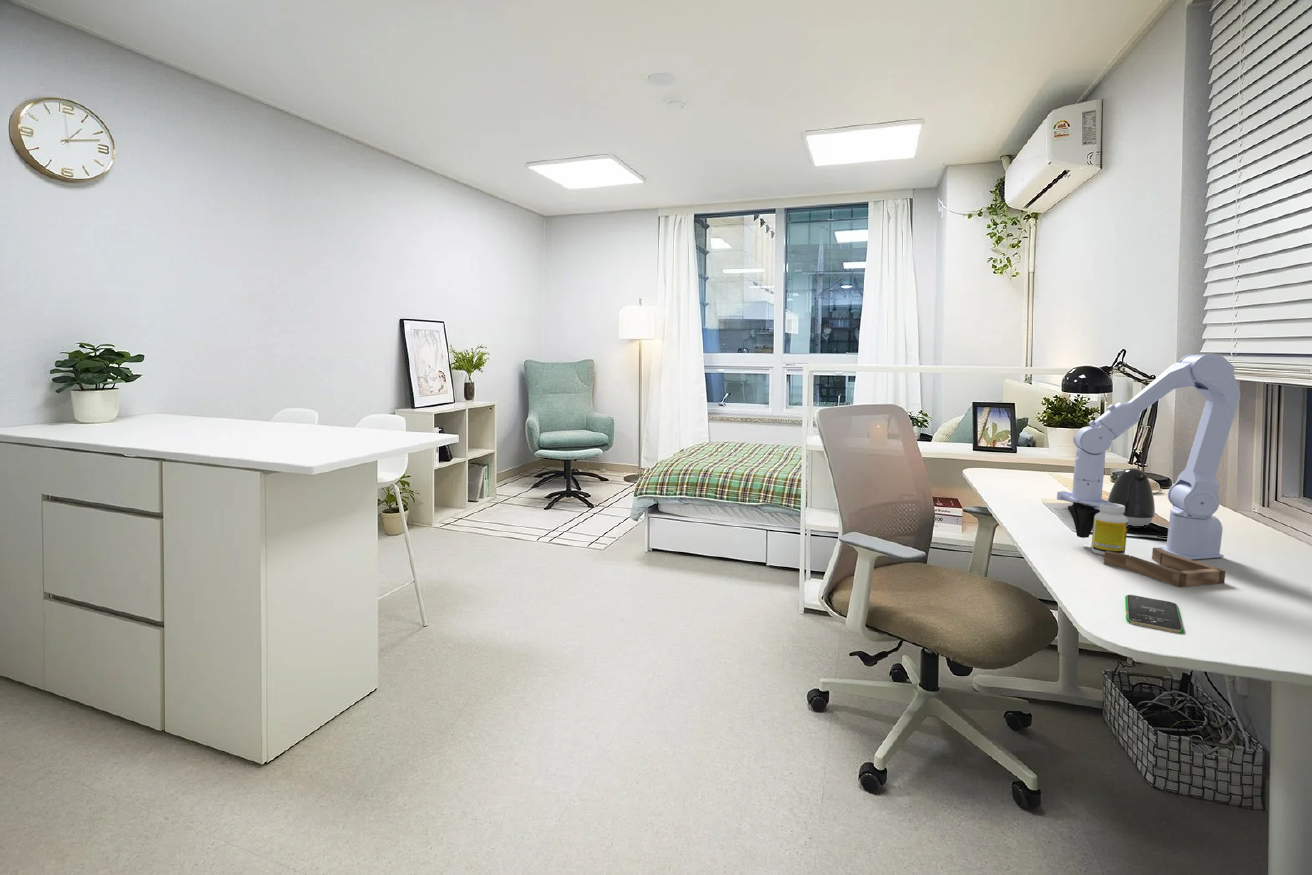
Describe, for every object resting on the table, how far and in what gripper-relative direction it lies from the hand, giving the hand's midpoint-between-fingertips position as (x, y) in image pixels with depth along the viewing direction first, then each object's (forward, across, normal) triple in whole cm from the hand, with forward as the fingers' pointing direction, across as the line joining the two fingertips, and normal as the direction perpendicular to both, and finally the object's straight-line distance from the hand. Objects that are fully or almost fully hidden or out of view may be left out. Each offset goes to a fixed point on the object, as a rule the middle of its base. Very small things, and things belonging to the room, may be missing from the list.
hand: (1082, 536), depth 153 cm
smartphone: (+2, +37, -23) cm, 43 cm away
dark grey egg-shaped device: (+2, -11, +26) cm, 28 cm away
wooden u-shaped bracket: (+2, +20, 0) cm, 20 cm away
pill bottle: (+2, +7, 0) cm, 7 cm away
